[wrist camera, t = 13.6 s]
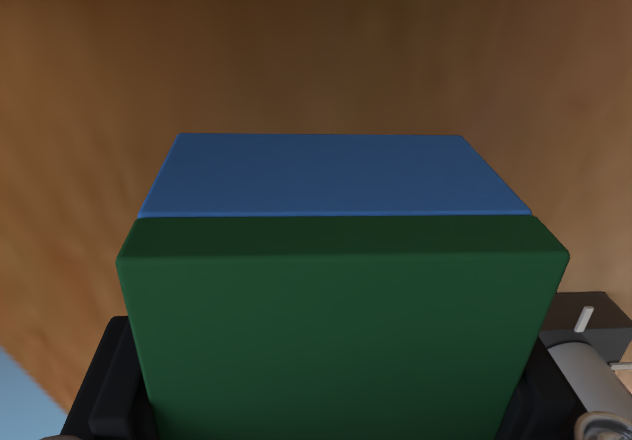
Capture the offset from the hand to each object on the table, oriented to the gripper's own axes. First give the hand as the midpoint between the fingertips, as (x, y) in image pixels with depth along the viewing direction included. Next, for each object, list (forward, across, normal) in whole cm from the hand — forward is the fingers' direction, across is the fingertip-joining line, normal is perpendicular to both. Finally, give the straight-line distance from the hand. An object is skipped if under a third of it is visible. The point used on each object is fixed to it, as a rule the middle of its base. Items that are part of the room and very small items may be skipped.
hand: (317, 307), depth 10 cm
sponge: (0, 0, 0) cm, 0 cm away
